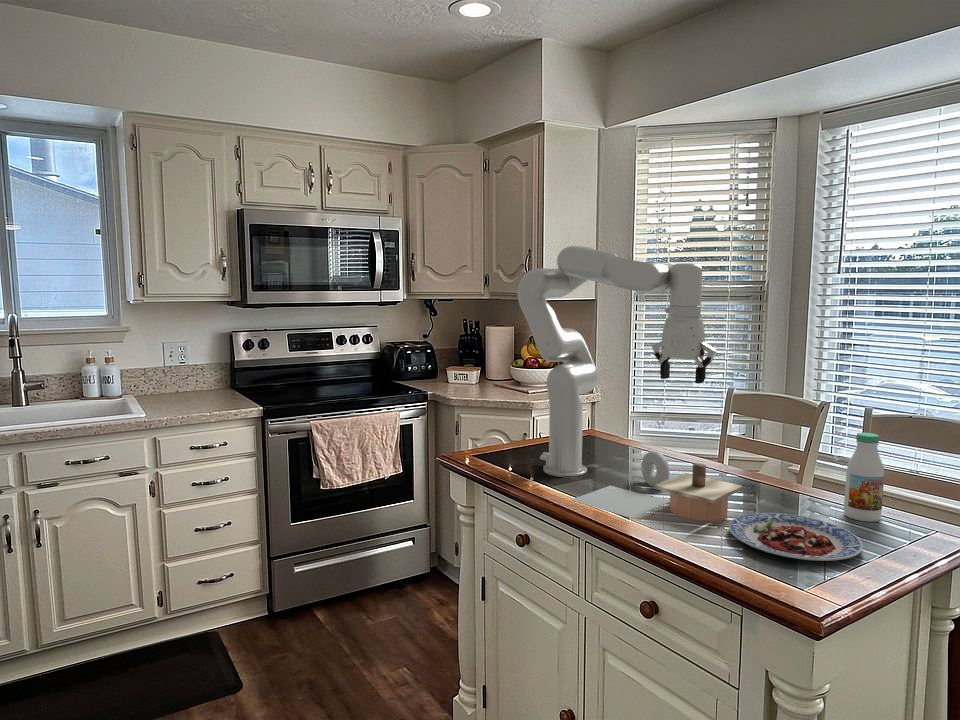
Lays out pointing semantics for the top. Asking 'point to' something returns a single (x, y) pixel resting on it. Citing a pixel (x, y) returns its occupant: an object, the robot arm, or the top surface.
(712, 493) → the lid
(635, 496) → the mat
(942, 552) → the top surface
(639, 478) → the top surface
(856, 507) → the milk bottle
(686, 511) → the bowl
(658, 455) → the donut
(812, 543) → the ceramic plate
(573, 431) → the robot arm
